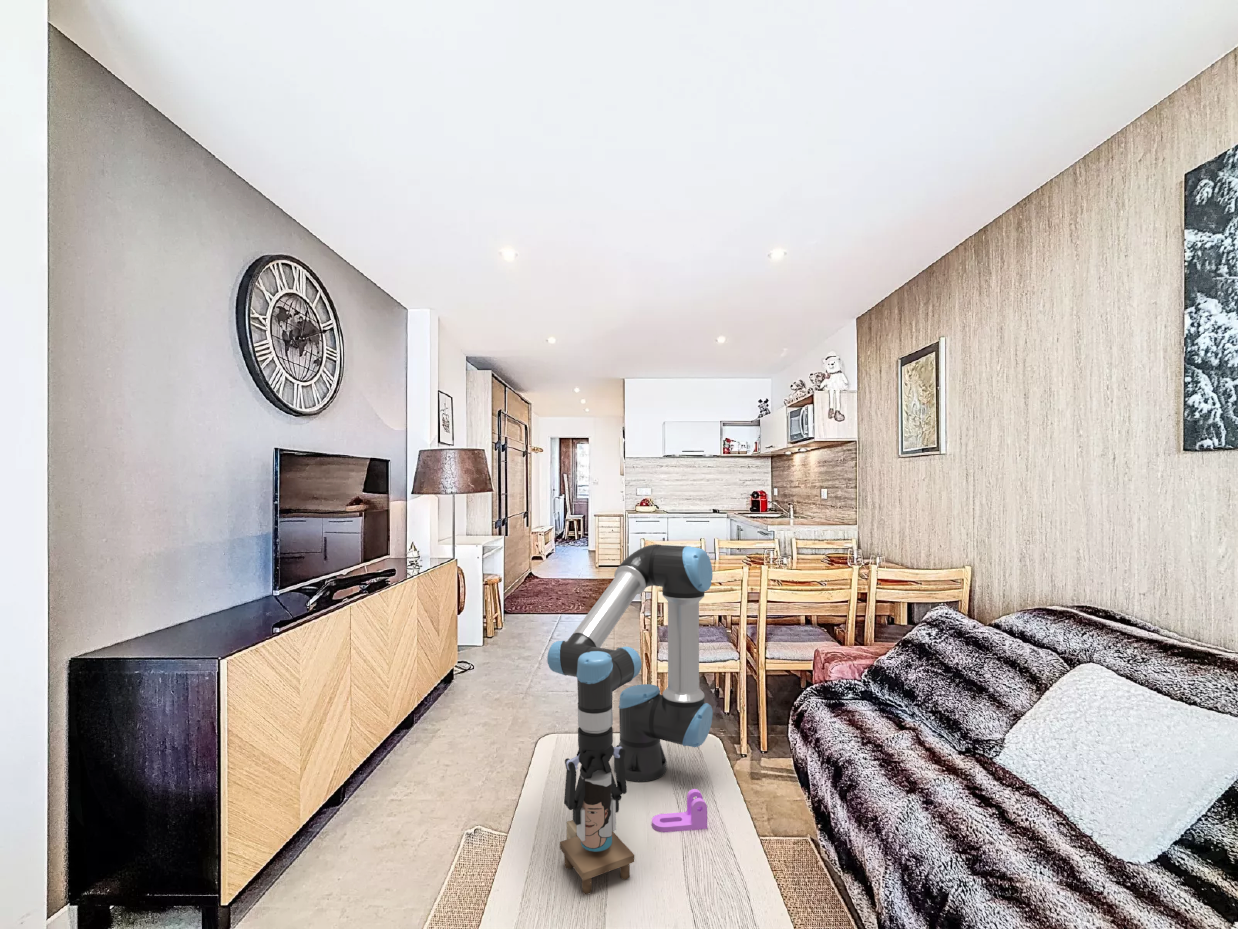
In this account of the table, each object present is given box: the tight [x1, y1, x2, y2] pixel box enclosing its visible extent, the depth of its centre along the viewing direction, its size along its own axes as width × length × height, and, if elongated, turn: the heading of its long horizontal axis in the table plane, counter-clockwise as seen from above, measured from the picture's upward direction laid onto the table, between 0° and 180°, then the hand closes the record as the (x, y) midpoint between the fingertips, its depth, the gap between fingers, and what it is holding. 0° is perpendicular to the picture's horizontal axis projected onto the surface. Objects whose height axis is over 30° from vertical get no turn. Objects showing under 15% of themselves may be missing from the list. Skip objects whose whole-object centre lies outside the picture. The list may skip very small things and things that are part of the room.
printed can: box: [579, 770, 612, 852], centre depth 135 cm, size 7×7×15 cm
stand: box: [559, 831, 635, 895], centre depth 135 cm, size 12×12×5 cm
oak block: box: [566, 819, 577, 840], centre depth 144 cm, size 5×5×5 cm
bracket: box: [651, 788, 708, 833], centre depth 152 cm, size 13×6×7 cm, turn 97°
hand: (596, 832), depth 135 cm, fingers closed on printed can, 7 cm apart
